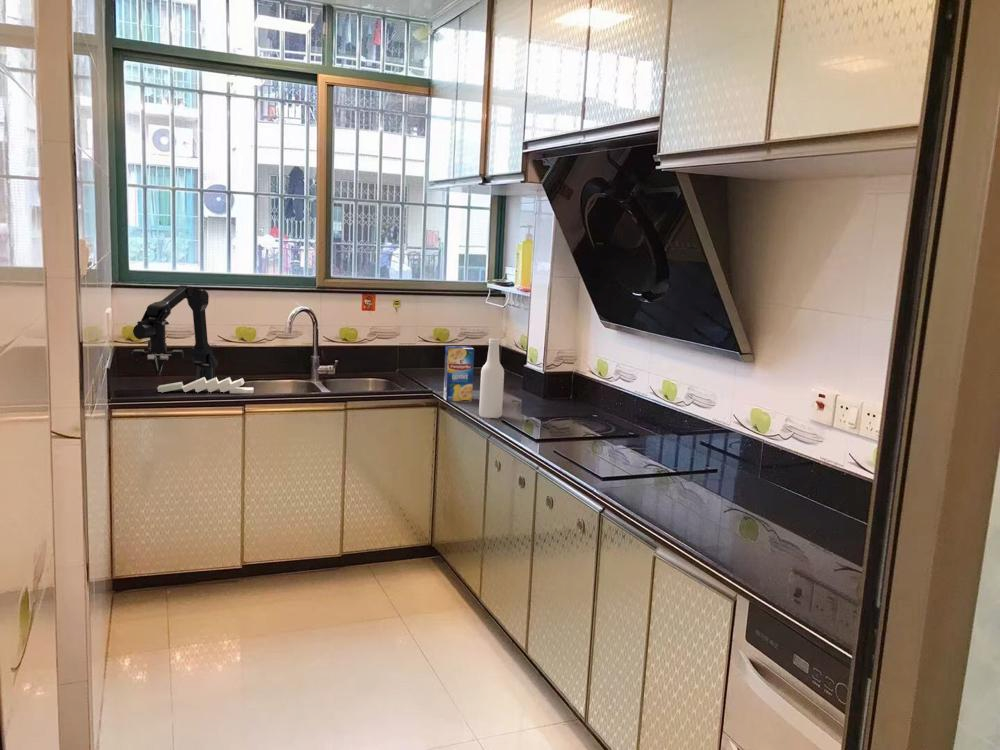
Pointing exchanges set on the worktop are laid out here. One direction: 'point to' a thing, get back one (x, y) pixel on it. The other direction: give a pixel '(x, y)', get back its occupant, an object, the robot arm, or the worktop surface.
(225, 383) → the domino
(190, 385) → the domino
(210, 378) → the robot arm
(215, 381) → the domino
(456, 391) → the blue food box
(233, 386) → the domino
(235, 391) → the domino
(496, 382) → the alcohol
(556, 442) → the worktop surface
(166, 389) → the domino
